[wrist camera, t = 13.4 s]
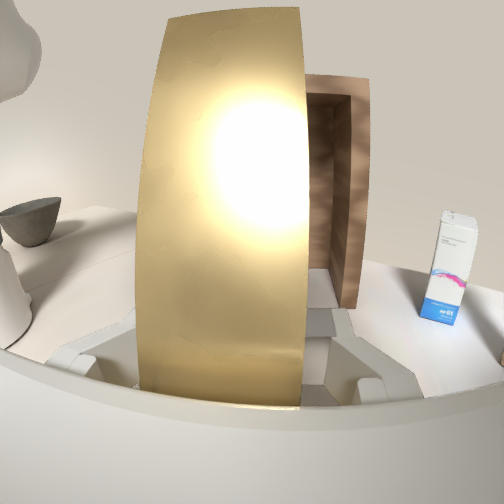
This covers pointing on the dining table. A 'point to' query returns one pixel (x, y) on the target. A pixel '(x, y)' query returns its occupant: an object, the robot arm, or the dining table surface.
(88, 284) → the dining table surface
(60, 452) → the robot arm
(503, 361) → the handle
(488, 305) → the dining table surface
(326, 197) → the walnut stand
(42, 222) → the bowl
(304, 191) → the brass bar
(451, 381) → the dining table surface
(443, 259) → the ink box
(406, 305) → the dining table surface
